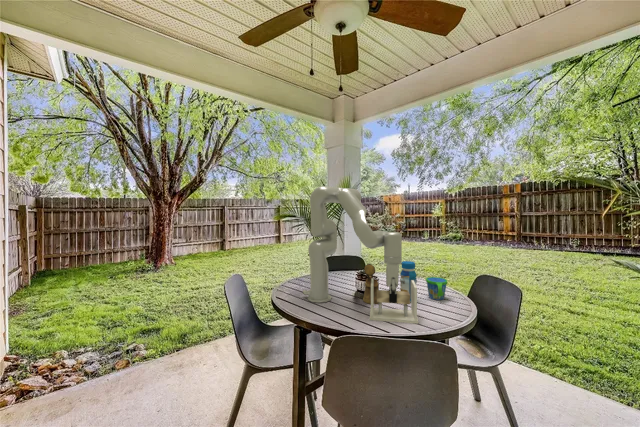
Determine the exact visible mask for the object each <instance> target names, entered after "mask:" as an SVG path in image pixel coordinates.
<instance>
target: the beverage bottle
mask: <svg viewBox="0 0 640 427" xmlns="http://www.w3.org/2000/svg"><path fill="white" fill-rule="evenodd" d="M401 269H402V270H401V271H400V272H399V277H400V278H399V282H400V291H404V292H409V294H410V303H411V280H414V282H415V284H416V285H417V283H418V279H417V272H416V271H415V269H416V263H415V261H410V260H404V261H403V260H402V264H401Z"/></svg>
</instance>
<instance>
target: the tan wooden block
mask: <svg viewBox="0 0 640 427" xmlns="http://www.w3.org/2000/svg"><path fill="white" fill-rule="evenodd" d="M389 293H390V291H389V290H386V289H385V290H384V289H379V290H377V302H382V304H383V303H384V304H391V303H390V302H389ZM396 294H397V303H396V304H401V305H404V304H407V305H410V304H411V302H410V294H409V292H404V291H399V290H396Z"/></svg>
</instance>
